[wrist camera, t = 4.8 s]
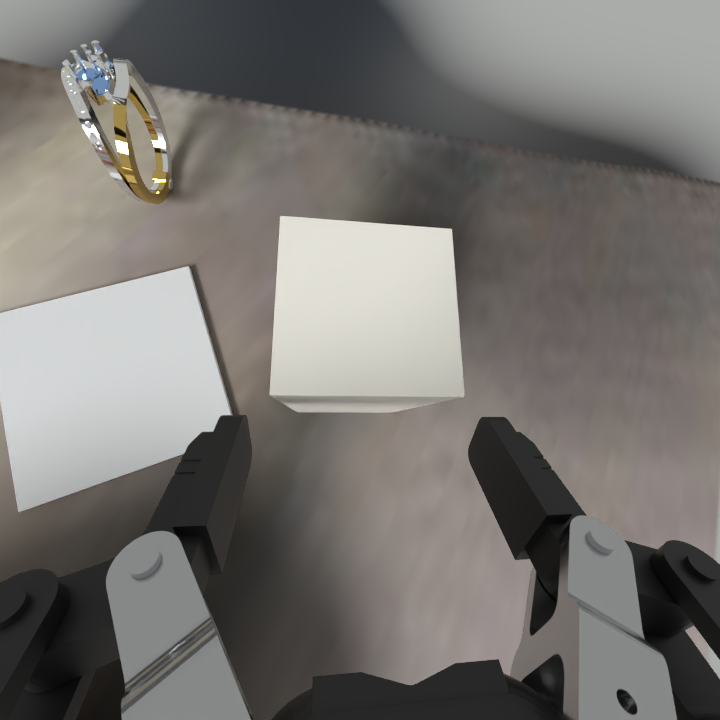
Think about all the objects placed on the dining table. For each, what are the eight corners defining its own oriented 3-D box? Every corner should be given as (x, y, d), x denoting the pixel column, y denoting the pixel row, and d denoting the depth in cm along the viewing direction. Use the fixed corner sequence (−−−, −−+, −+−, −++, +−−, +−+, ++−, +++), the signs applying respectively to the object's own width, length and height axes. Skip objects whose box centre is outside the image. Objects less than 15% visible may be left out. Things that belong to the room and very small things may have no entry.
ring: (152, 144, 23) (66, 1, 15) (196, 149, 24) (135, 13, 16) (134, 225, 22) (28, 112, 14) (181, 229, 22) (105, 122, 14)
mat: (-7, 318, 19) (-14, 316, 19) (190, 269, 21) (188, 266, 21) (25, 510, 17) (18, 512, 17) (238, 434, 20) (236, 434, 19)
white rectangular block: (392, 412, 21) (464, 397, 10) (297, 412, 20) (269, 395, 10) (390, 323, 22) (451, 228, 12) (301, 320, 22) (280, 215, 11)
